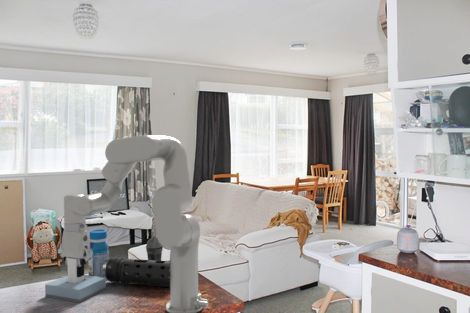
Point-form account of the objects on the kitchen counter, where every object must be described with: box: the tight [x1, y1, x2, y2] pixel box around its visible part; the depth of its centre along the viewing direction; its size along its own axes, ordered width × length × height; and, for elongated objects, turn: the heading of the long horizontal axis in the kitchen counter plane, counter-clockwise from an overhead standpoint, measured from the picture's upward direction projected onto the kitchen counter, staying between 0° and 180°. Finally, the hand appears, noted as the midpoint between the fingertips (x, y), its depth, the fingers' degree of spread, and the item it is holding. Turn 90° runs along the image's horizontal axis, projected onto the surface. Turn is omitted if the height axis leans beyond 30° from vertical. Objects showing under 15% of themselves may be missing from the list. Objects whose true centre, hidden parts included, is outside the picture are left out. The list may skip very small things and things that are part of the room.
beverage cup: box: [145, 229, 164, 261], centre depth 177 cm, size 7×7×20 cm
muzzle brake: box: [102, 257, 170, 288], centre depth 163 cm, size 10×28×10 cm, turn 78°
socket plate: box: [44, 274, 107, 304], centre depth 155 cm, size 16×14×4 cm
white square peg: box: [66, 257, 85, 284], centre depth 154 cm, size 4×4×11 cm
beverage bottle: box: [87, 229, 110, 277], centre depth 170 cm, size 8×8×20 cm
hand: (75, 274), depth 155 cm, fingers closed on white square peg, 4 cm apart
